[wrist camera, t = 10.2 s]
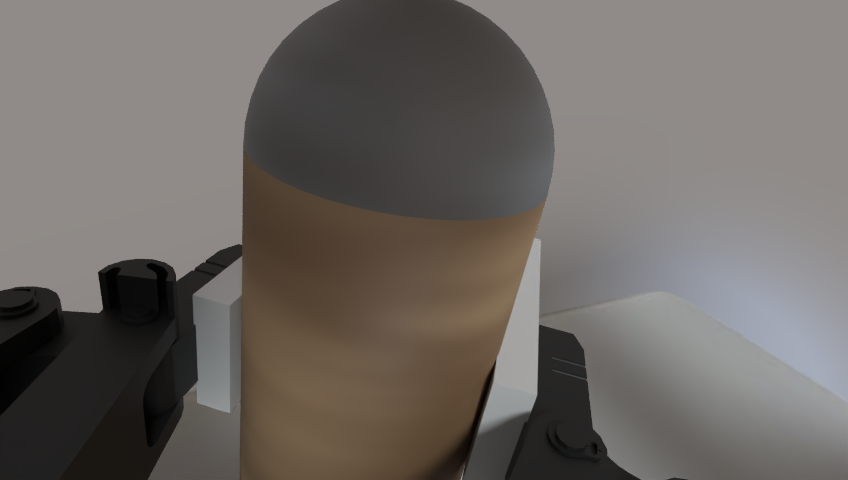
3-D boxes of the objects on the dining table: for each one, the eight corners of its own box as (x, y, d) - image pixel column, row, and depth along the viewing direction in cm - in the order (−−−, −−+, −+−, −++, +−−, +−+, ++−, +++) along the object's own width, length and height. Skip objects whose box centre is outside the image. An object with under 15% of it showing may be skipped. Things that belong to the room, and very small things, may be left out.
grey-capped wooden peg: (371, 486, 17) (463, -1, 10) (452, 635, 14) (674, 39, 7) (219, 551, 14) (208, -51, 8) (270, 757, 11) (335, -28, 4)
